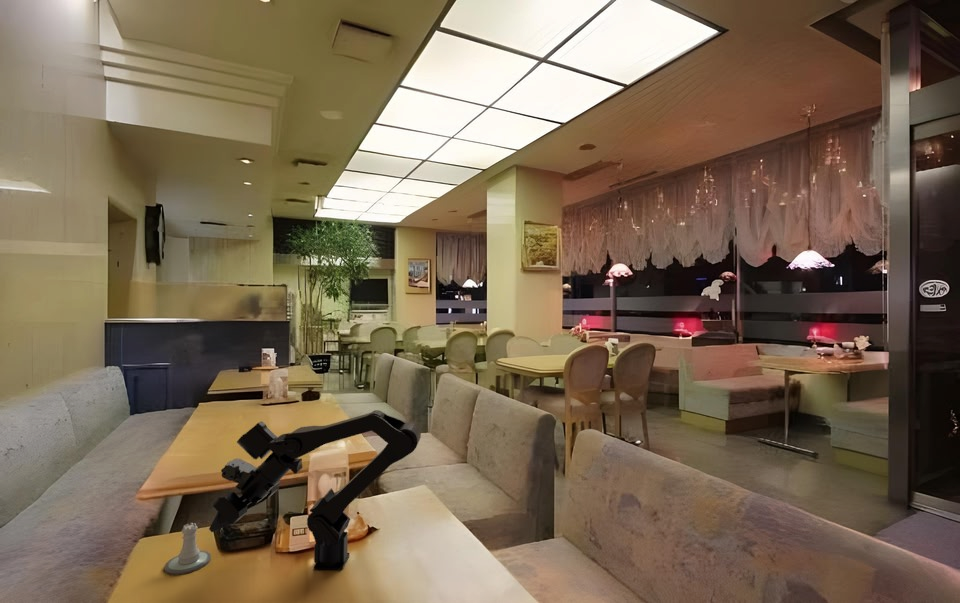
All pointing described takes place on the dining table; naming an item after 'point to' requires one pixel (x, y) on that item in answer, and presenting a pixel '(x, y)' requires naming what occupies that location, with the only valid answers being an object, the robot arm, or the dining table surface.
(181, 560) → the rook chess piece
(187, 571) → the coaster
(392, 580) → the dining table surface
